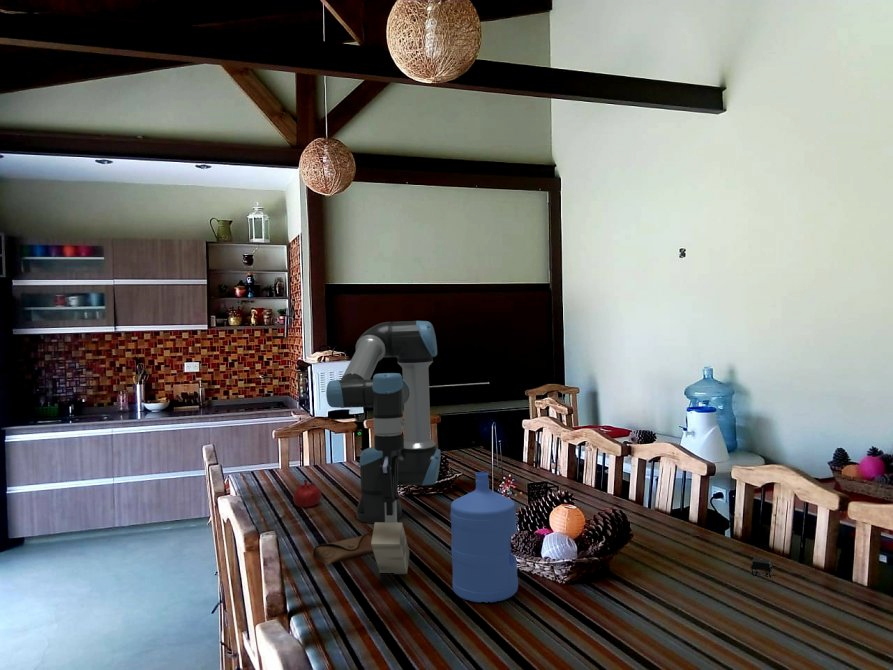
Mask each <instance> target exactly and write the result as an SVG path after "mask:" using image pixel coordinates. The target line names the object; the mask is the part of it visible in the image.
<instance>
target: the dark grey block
mask: <svg viewBox="0 0 893 670" xmlns="http://www.w3.org/2000/svg"><path fill="white" fill-rule="evenodd" d="M750 570H751V571H752V575H753V576H760V575H761V574H765V573H766V574H765V575H763V576H766V577H768V576H767V575H768V574H769V577H770V578H771V574H772V571H773V566H772V563H771V560H770V559H766V558H762V561H761V557H760V558H759V557H753V559H752V563H751V564H750ZM757 570H758V571H757ZM759 570H760V571H759ZM761 572H763V573H761ZM760 573H761V574H760Z"/></svg>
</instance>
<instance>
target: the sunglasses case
mask: <svg viewBox="0 0 893 670" xmlns="http://www.w3.org/2000/svg"><path fill="white" fill-rule="evenodd" d="M371 541H372V536H371V534H370V533H364V534H362V535H360V536H356V537H351V538H347V539H341V540H337V541H333V542H329V543H321V544H319V545H317V546H315V547H314V548H313V553H312V554H313V558H314V557H315V558H316V559H318V560H320V561H322V562H323V563H327V564H331V565H333V564H332V563H334V564H336V563H335V562H338V563H340V562H339V561H341V562H344V561H343V560H345V561H347V559H348V560H352V559H355V557H356V558H360V557H364V556H368V555H372V554H374V552H373V549H372V545H371ZM371 553H372V554H371ZM367 554H368V555H367ZM315 558H314V559H315ZM351 558H352V559H351ZM316 559H315V560H316ZM318 560H317V561H318ZM320 561H319V562H320ZM322 562H321V563H322ZM323 563H322V564H323Z"/></svg>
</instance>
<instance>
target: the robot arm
mask: <svg viewBox="0 0 893 670" xmlns="http://www.w3.org/2000/svg"><path fill="white" fill-rule="evenodd" d="M436 338H437V336H436V332H435V328H434V326H433V324H432V323H431V322H430V321H427V320H410V321H409V320H407V321H385V322H381V323H378V324H376V325H373V326H372V327H370V328H368V329H367V330H366V331H365V332H363V333H362V334H361V335H360V336H359V338H358V339H357V341H356V344H355V352H354V354H353V356H352V358H351V359H350V362H349V363H348V365H347V368H346V369H345V370H344V373H343V375H342V377H341V379H335V380H330V381H328V383H327V386H326V390H325V391H326V393H325V394H326V395H325V397H326V401H327V404H328V406H330V407H331V408H335V409H336V408H338V409H340V408H341V409H345V408H349V409H350V408H353V409H354V408H373V433H374V434H375V435H374V436H373V441H374V443H373V444H374V446H372V447H368V448H365V449H363V450H362V451H361V453H360V455H359V474H360V475H359V476H360V497H359V500H358V504H357V508H356V512H355V513H356V519H357V521H359V522H362V523H366V524H368V523H369V524H375V522H389V523H398V519H400V518H401V517H402V516H403V509H402V505H401V502H400V496H398V495H399V486H432V485H435V484H436V483H437V481H438V478H439V473H440V466H441V465H440V464H441V453H442V452H441V449H439V448H436V447H437V445H436V444H437V443H436V442H435V441H434V440H432V435H431V434H432V433H431V432H432V431H431V430H432V429H431V408H430V407H431V405H430V401H431V400H430V378H429V377H430V374H429V373H430V372H429V367H430V365H432V363H434V359H433V358H435V357H436V356H437V355H438V344H437V339H436ZM383 358H397V359H396V360H397V364H398V365H399V366H400V367H401V369H402V375H401V373H398V372H397V373H396V372H386V373H385V372H384V373H375V374H374V371H375V369H376V367H377V365H378V362H380V361H381V360H383ZM373 374H374V375H373ZM372 376H373V377H372ZM371 378H372V379H371ZM403 432H404V434H403Z"/></svg>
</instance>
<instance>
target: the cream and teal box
mask: <svg viewBox="0 0 893 670" xmlns="http://www.w3.org/2000/svg"><path fill="white" fill-rule="evenodd" d="M373 524H374V525H373V531H372V536H371V538H372V541H371V545H372V549H373V552H374V553H373V555H374V557H375V562H376V565H377V568H378V572H379V574H380V573H394V574H393V575H407V574H408V570H409V569H408V568H409V560H410V549H409V546H408V540H407V536H406V531H405V528H404V524H403V522H397V523H389V522H375V523H373Z"/></svg>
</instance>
